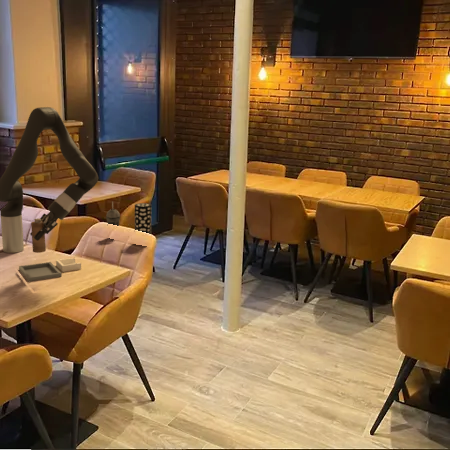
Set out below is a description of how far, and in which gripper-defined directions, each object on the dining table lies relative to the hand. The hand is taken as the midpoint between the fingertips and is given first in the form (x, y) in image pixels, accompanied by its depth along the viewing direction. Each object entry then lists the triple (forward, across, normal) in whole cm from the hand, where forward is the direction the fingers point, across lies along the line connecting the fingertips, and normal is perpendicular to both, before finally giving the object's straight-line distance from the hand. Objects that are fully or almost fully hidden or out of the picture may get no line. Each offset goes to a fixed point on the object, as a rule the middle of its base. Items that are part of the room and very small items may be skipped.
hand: (33, 237), depth 208 cm
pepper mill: (+3, 0, +6) cm, 6 cm away
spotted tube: (-30, -25, +54) cm, 67 cm away
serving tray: (+10, 0, +13) cm, 17 cm away
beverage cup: (-23, -40, +47) cm, 66 cm away
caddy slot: (+1, -2, +22) cm, 22 cm away
